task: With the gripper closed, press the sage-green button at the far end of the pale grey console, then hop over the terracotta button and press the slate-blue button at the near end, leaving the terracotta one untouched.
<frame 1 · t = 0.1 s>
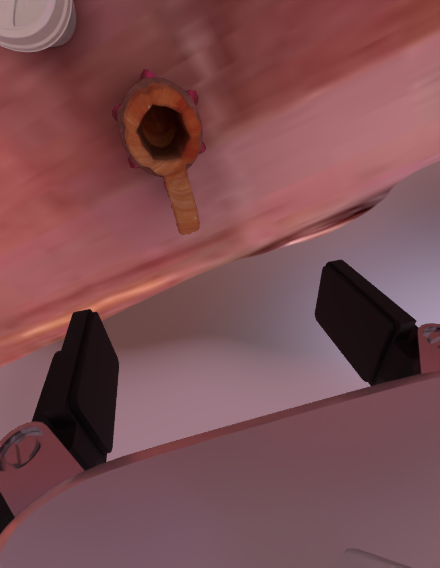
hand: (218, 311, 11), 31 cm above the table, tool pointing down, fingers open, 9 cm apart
coffee cup: (44, 7, 26), on the table
mug: (163, 145, 35), on the table
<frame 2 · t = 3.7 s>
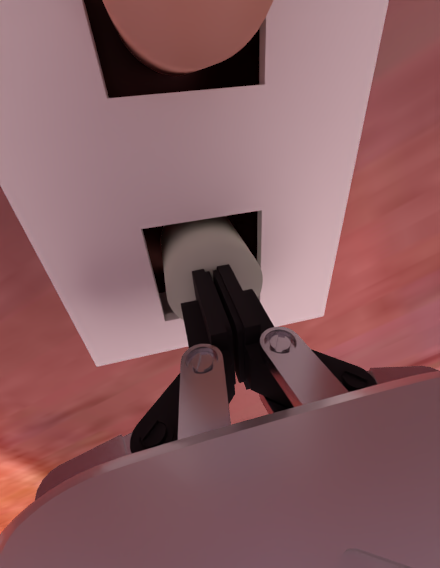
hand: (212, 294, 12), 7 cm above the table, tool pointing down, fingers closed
sage button: (205, 262, 14), point 4 cm above the table, slide at 0.9 cm, touching gripper
console: (164, 13, 12), on the table
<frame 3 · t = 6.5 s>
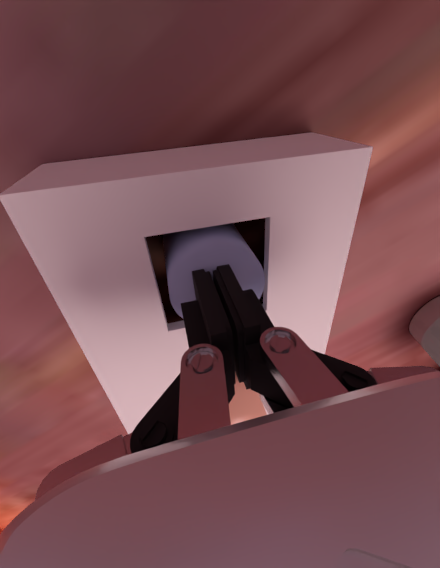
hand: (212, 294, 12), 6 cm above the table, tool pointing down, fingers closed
terracotta button: (226, 397, 19), point 5 cm above the table, slide at 0.0 cm
coffee cup: (433, 314, 28), on the table
slate button: (208, 262, 14), point 3 cm above the table, slide at 1.6 cm, touching gripper
console: (212, 344, 23), on the table
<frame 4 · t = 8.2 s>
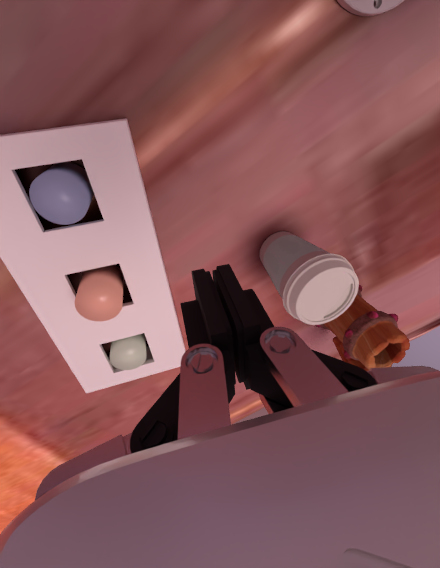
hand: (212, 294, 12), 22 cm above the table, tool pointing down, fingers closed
sage button: (128, 343, 36), point 3 cm above the table, slide at 1.8 cm
terracotta button: (101, 290, 29), point 5 cm above the table, slide at 0.0 cm
coffee cup: (278, 249, 39), on the table
mug: (324, 305, 48), on the table
slate button: (65, 192, 25), point 3 cm above the table, slide at 1.8 cm
console: (105, 268, 33), on the table
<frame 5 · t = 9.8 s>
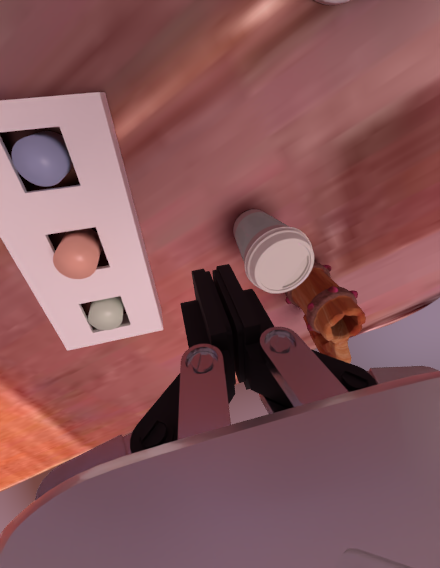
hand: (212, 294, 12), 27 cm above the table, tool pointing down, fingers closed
sage button: (107, 307, 40), point 3 cm above the table, slide at 1.8 cm
terracotta button: (79, 252, 32), point 5 cm above the table, slide at 0.0 cm
coffee cup: (251, 227, 42), on the table
mug: (298, 284, 51), on the table
slate button: (46, 157, 28), point 3 cm above the table, slide at 1.8 cm
console: (86, 234, 36), on the table
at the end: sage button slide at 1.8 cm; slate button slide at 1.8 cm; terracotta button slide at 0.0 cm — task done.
